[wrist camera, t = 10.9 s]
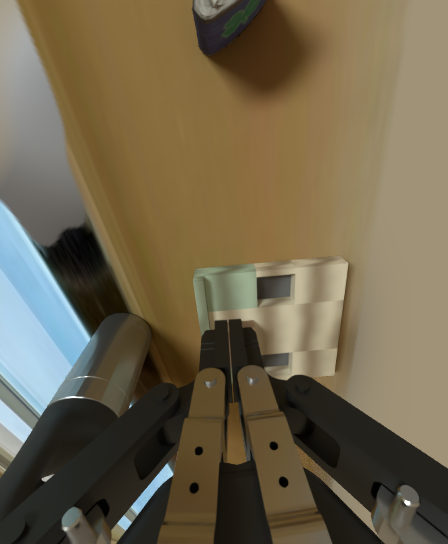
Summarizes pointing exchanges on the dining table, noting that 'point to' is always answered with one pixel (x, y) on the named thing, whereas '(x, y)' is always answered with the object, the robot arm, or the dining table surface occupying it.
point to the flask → (222, 21)
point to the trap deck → (280, 310)
